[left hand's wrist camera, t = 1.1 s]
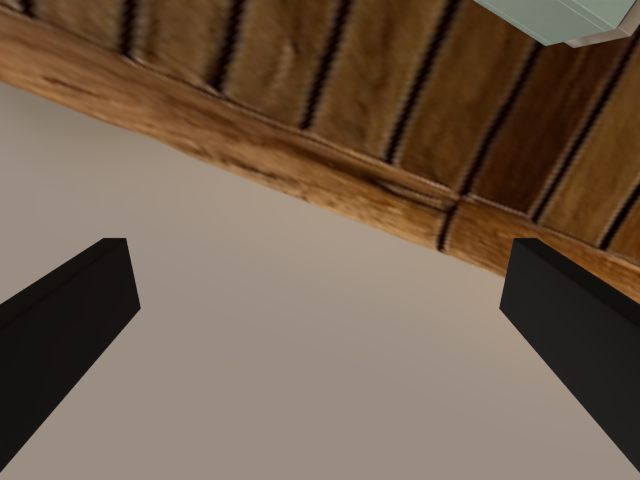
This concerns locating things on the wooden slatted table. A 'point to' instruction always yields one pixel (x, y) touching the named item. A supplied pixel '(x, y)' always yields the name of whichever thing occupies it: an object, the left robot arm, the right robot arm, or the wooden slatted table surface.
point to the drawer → (627, 26)
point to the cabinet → (560, 17)
